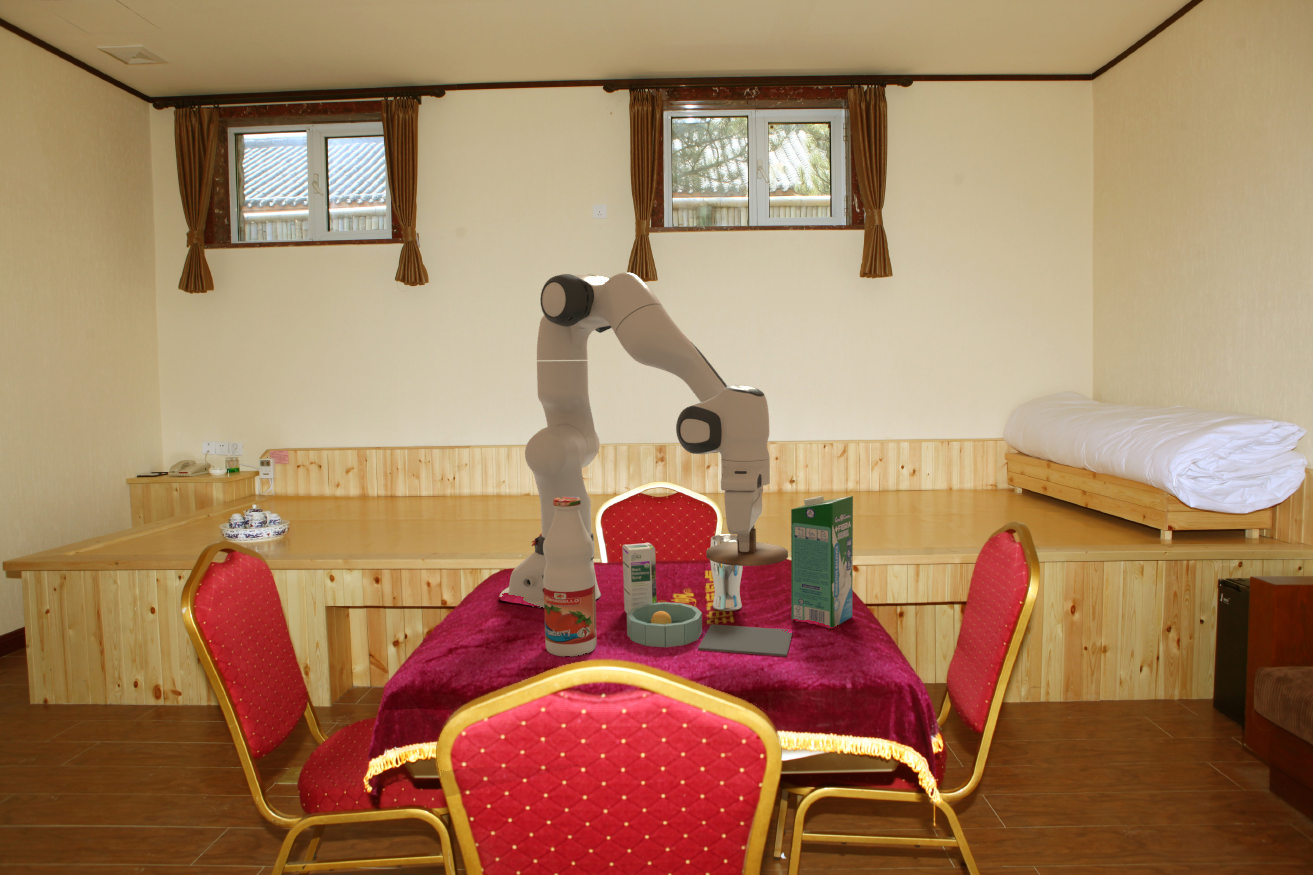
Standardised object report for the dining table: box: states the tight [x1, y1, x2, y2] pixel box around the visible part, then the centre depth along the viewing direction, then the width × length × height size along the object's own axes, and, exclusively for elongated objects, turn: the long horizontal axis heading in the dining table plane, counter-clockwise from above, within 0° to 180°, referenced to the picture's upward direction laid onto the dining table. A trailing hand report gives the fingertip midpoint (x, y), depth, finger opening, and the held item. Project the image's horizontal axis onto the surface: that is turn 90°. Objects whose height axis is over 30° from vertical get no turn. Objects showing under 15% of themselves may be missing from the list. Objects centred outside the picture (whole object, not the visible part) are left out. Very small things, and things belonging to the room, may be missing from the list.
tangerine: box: [651, 611, 672, 624], centre depth 152 cm, size 4×4×4 cm
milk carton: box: [790, 495, 854, 628], centre depth 158 cm, size 9×9×25 cm
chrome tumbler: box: [709, 533, 744, 612], centre depth 168 cm, size 7×7×15 cm
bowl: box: [626, 601, 703, 648], centre depth 152 cm, size 14×14×4 cm
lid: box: [705, 527, 789, 567], centre depth 146 cm, size 15×15×5 cm
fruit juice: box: [543, 496, 598, 657], centre depth 144 cm, size 9×9×28 cm
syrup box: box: [622, 542, 658, 615], centre depth 164 cm, size 6×6×14 cm
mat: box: [697, 624, 793, 658], centre depth 148 cm, size 16×13×1 cm
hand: (746, 548), depth 146 cm, fingers closed on lid, 3 cm apart
